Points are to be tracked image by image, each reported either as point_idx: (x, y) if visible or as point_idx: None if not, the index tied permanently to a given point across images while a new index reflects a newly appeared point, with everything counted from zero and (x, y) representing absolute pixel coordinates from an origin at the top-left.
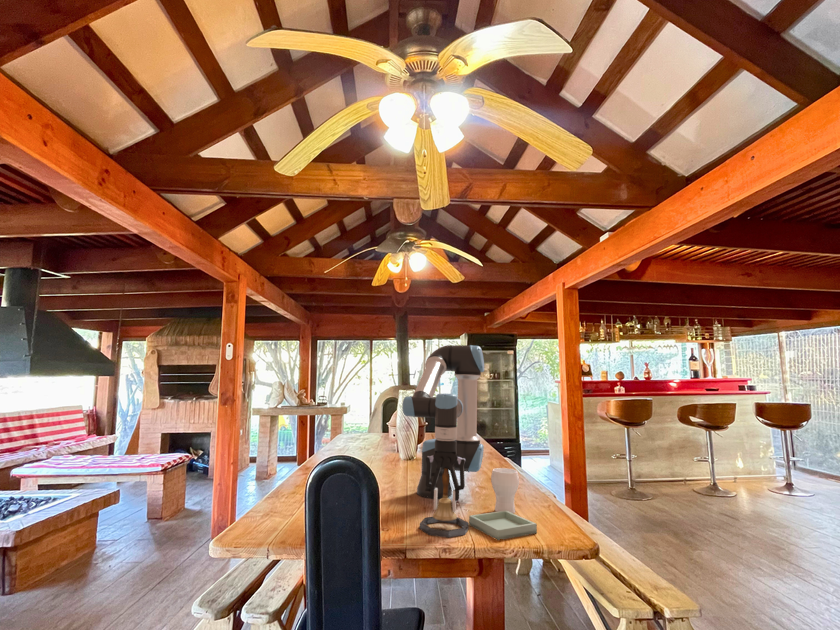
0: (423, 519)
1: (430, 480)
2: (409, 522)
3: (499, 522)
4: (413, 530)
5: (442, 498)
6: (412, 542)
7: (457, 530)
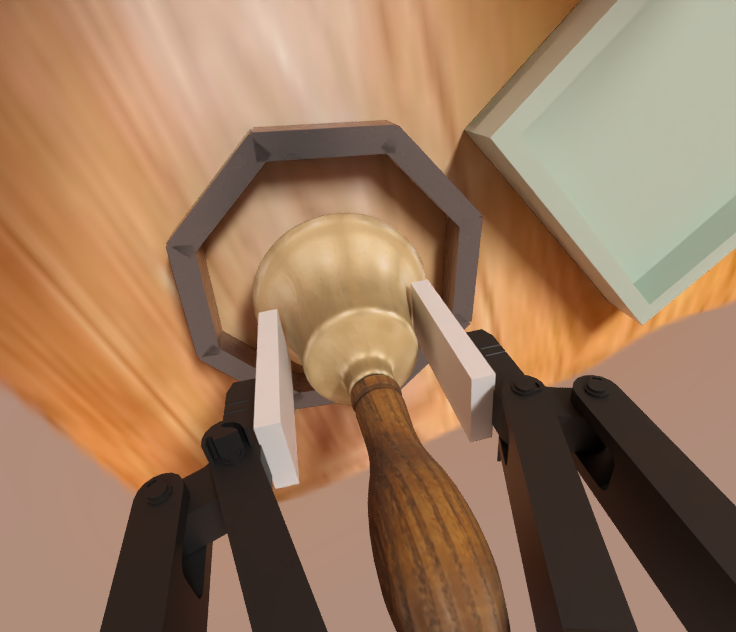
0: (180, 289)
1: (181, 534)
2: (68, 267)
3: (677, 45)
4: (185, 373)
5: (345, 389)
6: None
7: None
